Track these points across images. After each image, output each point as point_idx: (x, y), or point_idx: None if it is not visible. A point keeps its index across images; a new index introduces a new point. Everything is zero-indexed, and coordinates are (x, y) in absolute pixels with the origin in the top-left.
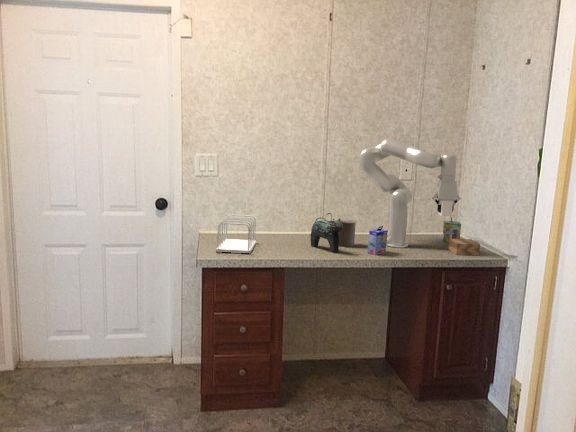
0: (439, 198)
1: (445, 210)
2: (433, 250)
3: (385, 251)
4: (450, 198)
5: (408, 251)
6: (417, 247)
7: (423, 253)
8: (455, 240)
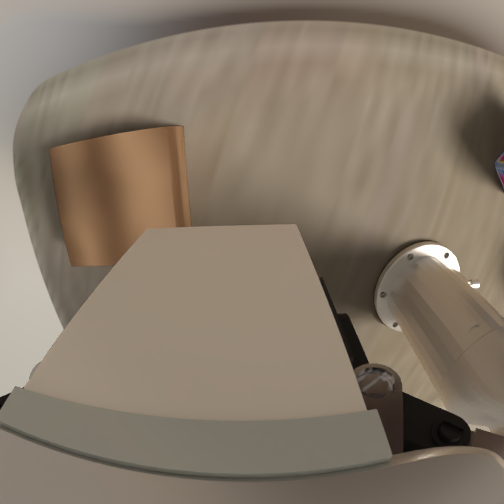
0: (494, 455)
1: (239, 262)
2: (281, 208)
3: (497, 163)
4: (49, 482)
5: (412, 178)
6: (342, 262)
7: (356, 139)
8: (154, 219)
